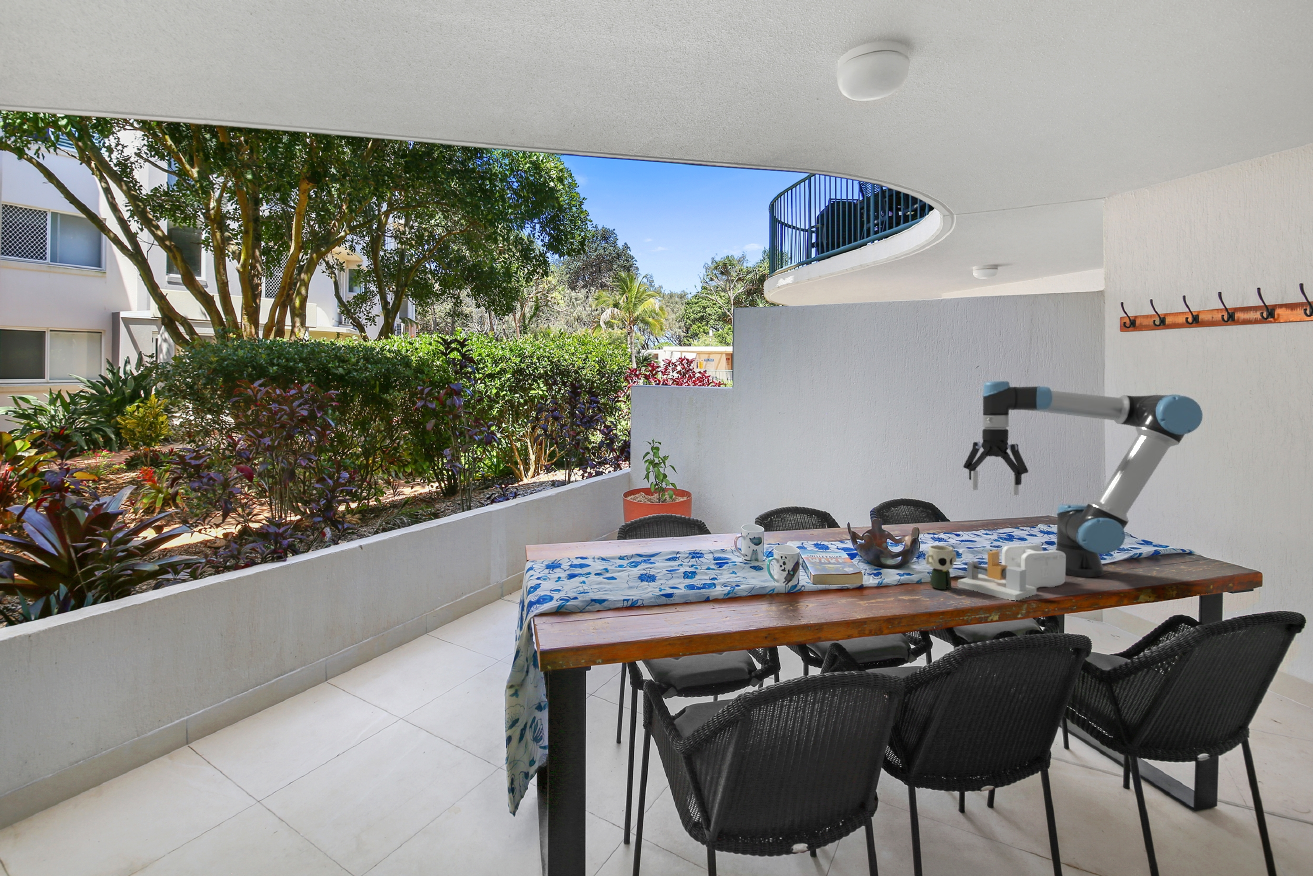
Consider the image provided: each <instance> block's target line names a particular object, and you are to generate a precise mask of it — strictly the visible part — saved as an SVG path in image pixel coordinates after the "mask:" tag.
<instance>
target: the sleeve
mask: <svg viewBox="0 0 1313 876" xmlns="http://www.w3.org/2000/svg"><path fill="white" fill-rule="evenodd" d="M987 567H988V568H987V571H986V573H987V574H986V576H987V577H988V578H992V579H996V580H1006V578H1003V577H1002V571H1003V569H1004V568H1007V565H1002V563H1000V550H992V551H991V550H990V551H988V552H987Z"/></svg>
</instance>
